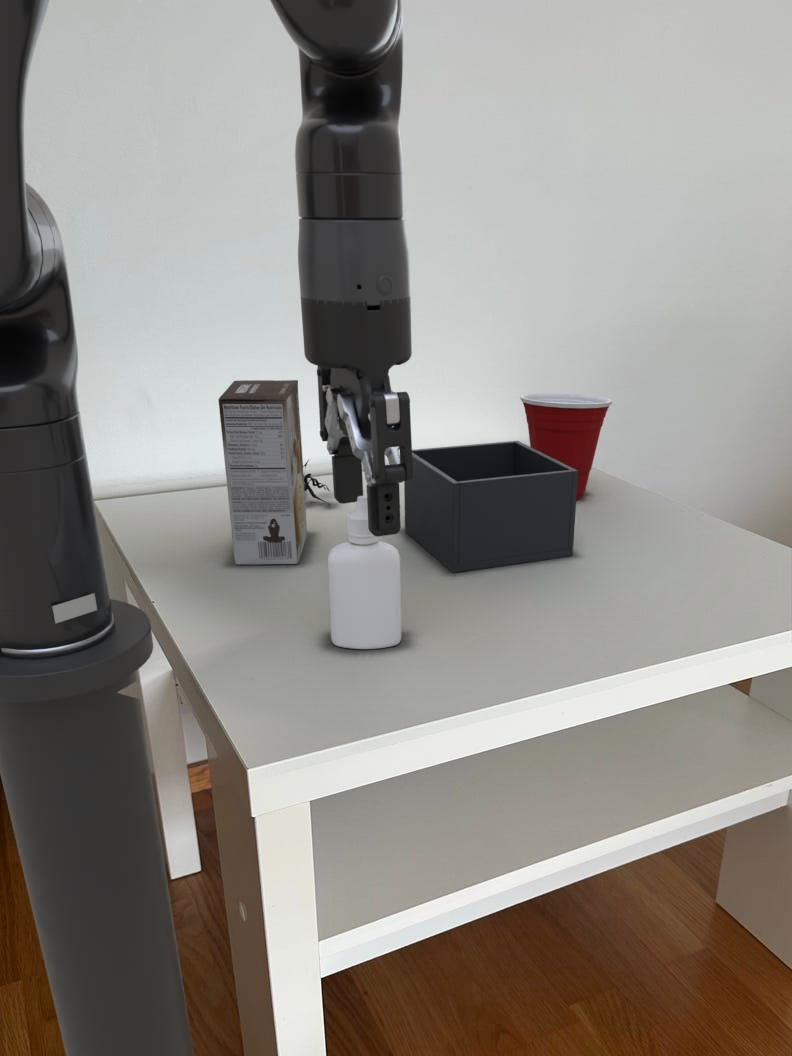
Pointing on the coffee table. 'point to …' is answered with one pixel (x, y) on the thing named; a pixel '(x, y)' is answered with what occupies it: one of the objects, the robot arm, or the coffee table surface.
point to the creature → (306, 485)
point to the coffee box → (264, 470)
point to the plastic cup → (566, 429)
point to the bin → (490, 505)
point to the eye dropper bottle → (364, 587)
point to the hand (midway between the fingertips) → (366, 517)
